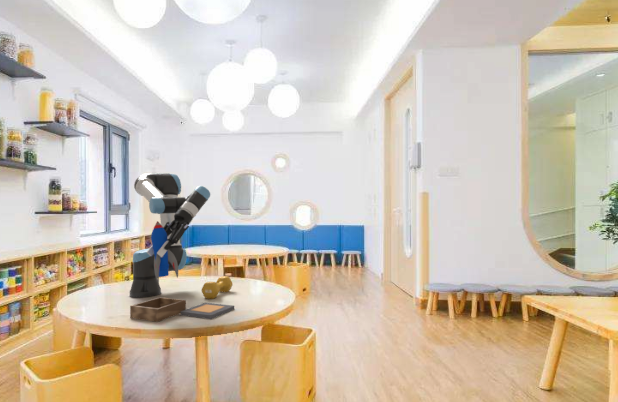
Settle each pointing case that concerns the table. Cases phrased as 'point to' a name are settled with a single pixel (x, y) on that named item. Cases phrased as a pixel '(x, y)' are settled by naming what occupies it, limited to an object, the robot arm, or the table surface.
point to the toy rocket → (162, 262)
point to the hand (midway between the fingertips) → (154, 254)
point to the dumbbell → (216, 287)
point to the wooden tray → (157, 309)
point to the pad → (207, 310)
